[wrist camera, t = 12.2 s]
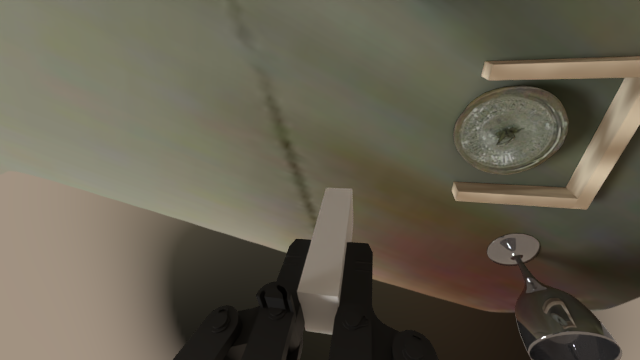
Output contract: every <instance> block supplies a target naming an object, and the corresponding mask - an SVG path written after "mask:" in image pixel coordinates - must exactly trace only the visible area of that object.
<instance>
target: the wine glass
mask: <svg viewBox="0 0 640 360" xmlns="http://www.w3.org/2000/svg"><path fill="white" fill-rule="evenodd" d="M539 252H540V243H539V241H538V240H537V239H536V238H534V237H532V236H530V235H527V234H521V233H514V234H508V235H504V236H501V237H499V238H497V239H495V240H494V241H493V242H491V244H490V245H489V246H488V249H487V255H488V257H489V258H490V259H491V260H492V261H493V262H495V263H497V264H500V265H504V266H517V265H518V266H519V268H520V270H521V272H522V275H523V278H524V281H525V286H524V289H523V291H522V293H521V294H520V296H519V298H518V299H517V302H516V305H515V314H516V320H517V324H518V328H519V332H520V335H521V337H522V340H523V342H524V345H525V347H526V349H527V352H528V354H529V356H530V358H531V359H532V360H620V358H621V356H622V350H621V349H620V347H619V345H618V344H617V342H616V341H615V340H614V338H613V337H612V335H611V334H610V333H609V332H608V330H607V329H606V328H605V327H604V325H603V324H602V323H601V322H600V321H599V320H598V319H597V317H596V316H595V315H594V314H593V313H592V312H591V311H590V310H589V309H588V308H587V307H586V306H585V305H583V304H582V303H581V302H580V301H579V300H578V299H576V298H575V297H573V296H572V295H570V294H568V293H566V292H564V291H562V290H559V289H556V288H553V287H551V286H548V285H545V284H543V283H541V282H539V281H538V280H537V279H536V278H535V277H534V276H533V275H532V274H531V273H530V271H529V270H528V269H527V267H526V266H525V263H527V262H529V261H531V260H533V259H534V258H535V257H536V256H537V255H538V254H539Z"/></svg>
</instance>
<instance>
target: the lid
mask: <svg viewBox="0 0 640 360" xmlns="http://www.w3.org/2000/svg"><path fill="white" fill-rule="evenodd" d="M568 125H569V120H568V117H567V114H566V110H565V109H564V107H563V105H562V103H561V101H560V100H559V99H558V98H557V97H556V96H554V95H553V94H551V93H550V92H548V91H545V90H543V89H540V88H537V87H530V86H526V85H524V86H509V87H503V88H498V89H494V90H491V91H488V92H485V93H483V94H482V95H480V96H479V97H477V98H475V99H474V100H473V101H471V103H470V104H469V105H468V106H467V107H466V108H465V110H464V111H463V112H462V114H461V115H460V116H459V118H458V119H457V121H456V123H455V127H454V134H453V137H454V143H455V145H456V148H457V150H458V152H459V153H460V154H461V156H462V157H463V158H464V159H465V160H466V161H467V162H468V163H469V164H471V165H472V166H474V167H475V168H477V169H479V170H482V171H484V172H487V173H492V174H502V175H509V174H514V173H519V172H522V171H526V170H529V169H531V168H533V167H536V166H538V165H540V164H541V163H543V162H544V161H546V160H547V159H548V158H550V157H551V156H552V155H553V154H554V153H556V152H557V151H558V150H559V149H560V147H561V146H562V144H563V143H564V141H565V138H566V135H567V133H568Z"/></svg>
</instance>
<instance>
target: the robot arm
mask: <svg viewBox="0 0 640 360" xmlns="http://www.w3.org/2000/svg"><path fill="white" fill-rule="evenodd" d="M352 231H353V194H352V189H345V188H326V190H325V194H324V197H323V201H322V204H321V208H320V212H319V215H318V219H317V222H316V226H315V229H314V233H313V236H312V240H306V239H296V240H295V241H294V242H293V243H292V244H291V245H290V246H289V249H288V252H287V254H286V257H285V260H284V264H283V266H282V268H281V271H280V273H279V276H278V279H277V282H271V283H269V284H266V285H265V286H263V287H262V288H261V289H260V290H259V291H258V293H257V295H256V297H257V300H258V302H259V305H260V306H258V307H255V308H252V309H247V310H242V311H237V310H236V309H235V308H234V307H232V306H222V307H219V308H217V309H215V310H213V311H212V312H211V313H210V314H209V315H208V316H207V317H206V319H205V320H204V321H203V322H202V324H201V325H200V326H199V328H198V329H197V330H196V331H195V332H194V334H193V335H192V336H191V338H190V339H189V340H188V341H187V343H186V344H185V345H184V346H183V348H182V349H181V350H180V351H179V353H178V354H177V355H176V356H175V358H174V359H173V360H300V356H301V351H302V346H303V339H302V334H303V329H304V325H305V329H306V331H312V332H318V333H325V334H332V340H331V347H330V355H329V360H439V359H438V357H437V355H436V352H435V350H434V348H433V346H432V344H431V343H430V341H429V340H428V339H427V338H426V337H425V336H424V335H423V334H420V333H418V332H416V331H412V330H405V331H402V332H399V331H397V330H394V329H392V328H390V327H388V326H387V325H385V324H383V323H382V322H381V321H380V320H379V319H378V318H377V317H376V315H375V313H374V311H373V308H372V258H373V252H372V250H371V248H370V246H369V244H367V243H353V242H351V240H352Z"/></svg>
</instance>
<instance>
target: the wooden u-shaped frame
mask: <svg viewBox="0 0 640 360" xmlns="http://www.w3.org/2000/svg"><path fill="white" fill-rule="evenodd" d="M481 76H482V77H484V78H486V79H487V80H534V79H583V78H625V79H624V80H623V82H622V84H621V86H620V88H619V90H618V92H617V93H616V95H615V97H614V99H613V101H612V103H611V105H610V106H609V108H608V110H607V112H606V114H605V116H604V118H603V119H602V121H601V123H600V125H599V127H598V129H597V131H596V132H595V134H594V136H593V138H592V140H591V142H590V144H589V145H588V147H587V149H586V151H585V153H584V155H583V157H582V158H581V160H580V162H579V164H578V166H577V168H576V170H575V171H574V173H573V175H572V177H571V179H570V181H569V183H568V184H567V186H566V188H564V187H545V186H526V185H507V184H487V183H468V182H454V183H453V187H452V193H453V195H454V198H455V200H456V201H466V202H482V203H497V204H512V205H527V206H543V207H558V208H573V209H587V208H588V207H589V205H590V203H591V202H592V200H593V199H594V197H595V195H596V194H597V192H598V191H599V189H600V187H601V186H602V184H603V183H604V181H605V179H606V178H607V176H608V175H609V173H610V171H611V170H612V168H613V167H614V165H615V163H616V162H617V160H618V159H619V157H620V155H621V154H622V152H623V151H624V149H625V147H626V146H627V144H628V143H629V141H630V139H631V138H632V136H633V135H634V133H635V131H636V130H637V128H638V126H639V125H640V56H630V57H601V58H571V59H542V60H512V61H485V63H484V67H483V71H482V75H481Z"/></svg>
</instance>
